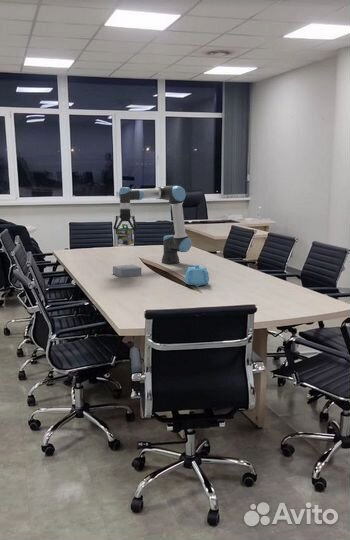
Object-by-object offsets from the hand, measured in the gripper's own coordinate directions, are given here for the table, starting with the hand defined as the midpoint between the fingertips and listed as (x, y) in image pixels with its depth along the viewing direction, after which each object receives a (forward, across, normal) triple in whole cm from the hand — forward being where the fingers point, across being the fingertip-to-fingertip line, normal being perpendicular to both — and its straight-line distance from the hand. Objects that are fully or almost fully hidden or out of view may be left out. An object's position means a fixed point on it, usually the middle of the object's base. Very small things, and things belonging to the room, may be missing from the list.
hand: (125, 238), depth 365 cm
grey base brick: (+27, +2, -3) cm, 27 cm away
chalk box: (+4, 0, 0) cm, 4 cm away
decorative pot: (+26, +56, -32) cm, 70 cm away
